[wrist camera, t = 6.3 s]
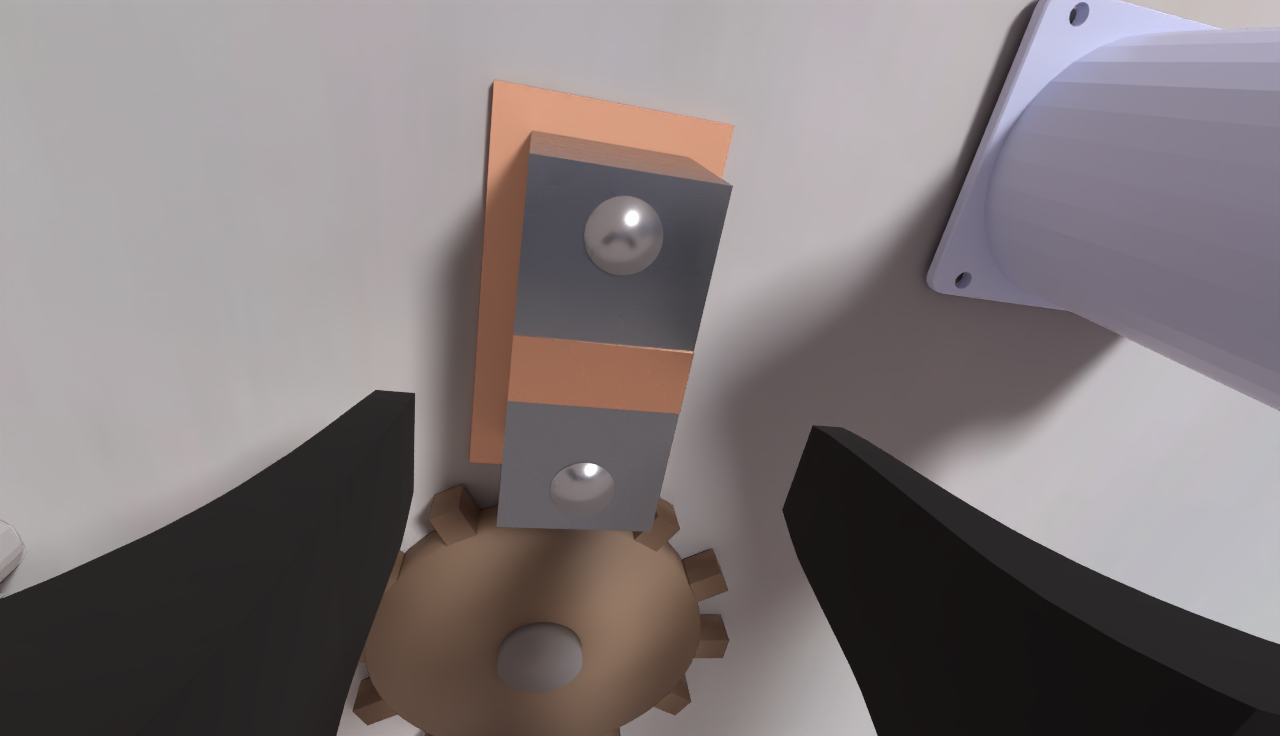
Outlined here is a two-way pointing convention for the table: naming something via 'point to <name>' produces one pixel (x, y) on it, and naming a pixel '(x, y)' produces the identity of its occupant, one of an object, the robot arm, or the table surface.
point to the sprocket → (537, 627)
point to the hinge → (9, 550)
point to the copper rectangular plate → (505, 204)
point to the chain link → (603, 329)
